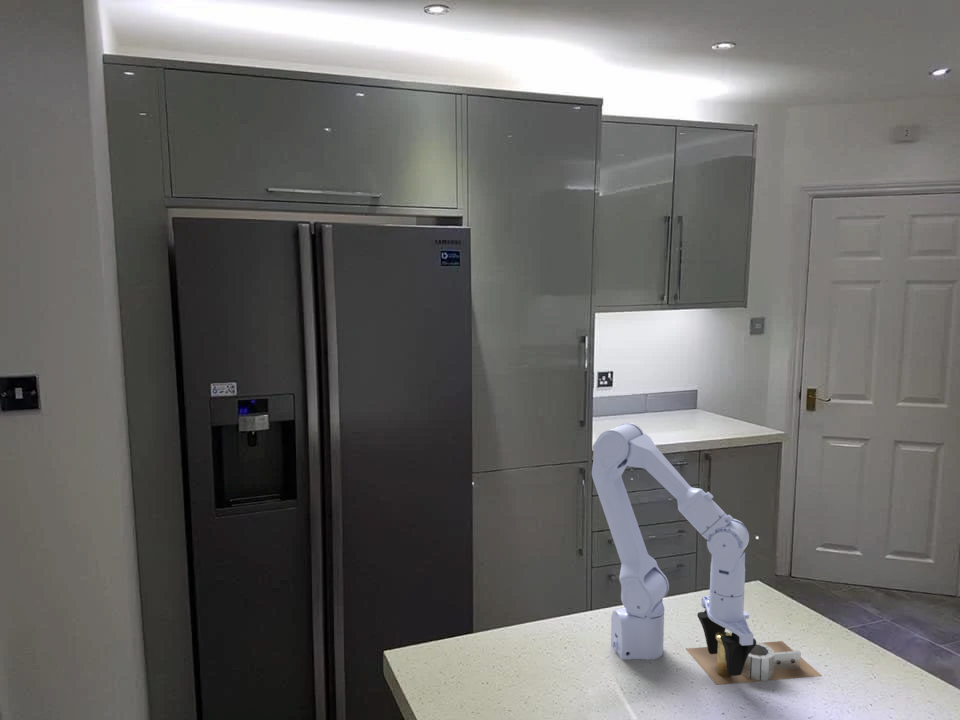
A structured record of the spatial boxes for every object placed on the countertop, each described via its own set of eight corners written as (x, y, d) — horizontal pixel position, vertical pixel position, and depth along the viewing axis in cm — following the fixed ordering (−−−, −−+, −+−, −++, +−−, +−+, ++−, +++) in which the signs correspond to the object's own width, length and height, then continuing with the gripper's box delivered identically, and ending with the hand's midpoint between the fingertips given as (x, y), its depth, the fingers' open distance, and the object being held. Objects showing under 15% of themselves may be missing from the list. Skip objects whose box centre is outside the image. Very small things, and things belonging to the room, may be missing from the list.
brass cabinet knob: (720, 679, 117) (721, 641, 116) (711, 669, 120) (712, 632, 119) (736, 677, 117) (738, 640, 116) (727, 667, 120) (729, 631, 120)
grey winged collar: (748, 681, 116) (749, 660, 116) (716, 647, 127) (716, 627, 127) (809, 676, 118) (810, 655, 117) (772, 643, 129) (772, 623, 129)
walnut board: (716, 690, 115) (716, 684, 115) (685, 653, 127) (685, 648, 127) (821, 680, 118) (821, 675, 118) (781, 645, 130) (782, 641, 130)
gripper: (771, 607, 110) (768, 684, 112) (727, 572, 125) (724, 641, 126) (731, 610, 109) (729, 688, 111) (691, 574, 124) (689, 643, 125)
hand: (724, 663), depth 118 cm, fingers open, 6 cm apart
